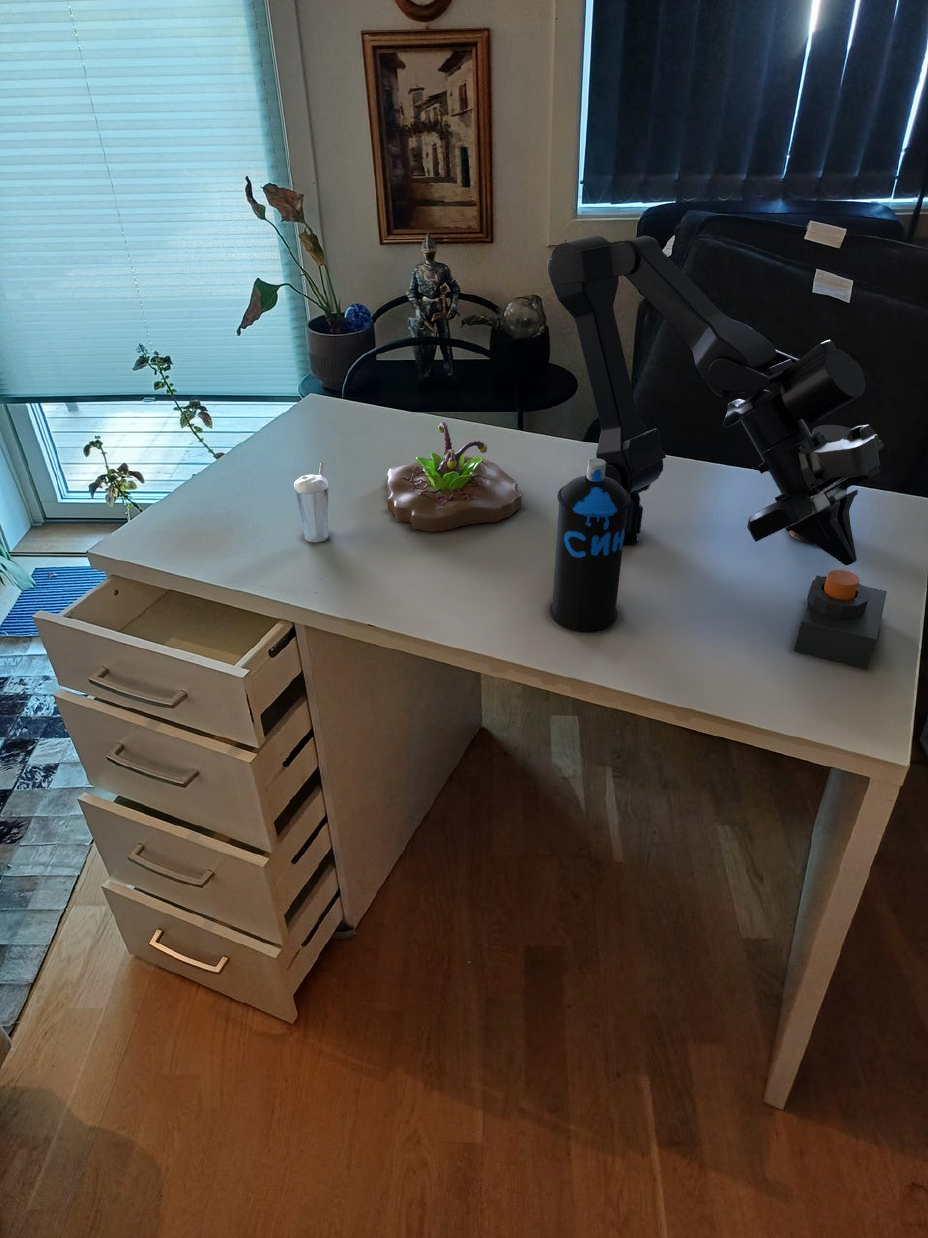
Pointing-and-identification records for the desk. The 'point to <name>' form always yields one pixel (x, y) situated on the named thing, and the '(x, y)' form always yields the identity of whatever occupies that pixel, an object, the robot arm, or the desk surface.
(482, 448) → the plant
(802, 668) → the desk surface
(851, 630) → the push button box
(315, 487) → the milkshake
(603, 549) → the aerosol can
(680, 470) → the desk surface
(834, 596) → the orange push button
